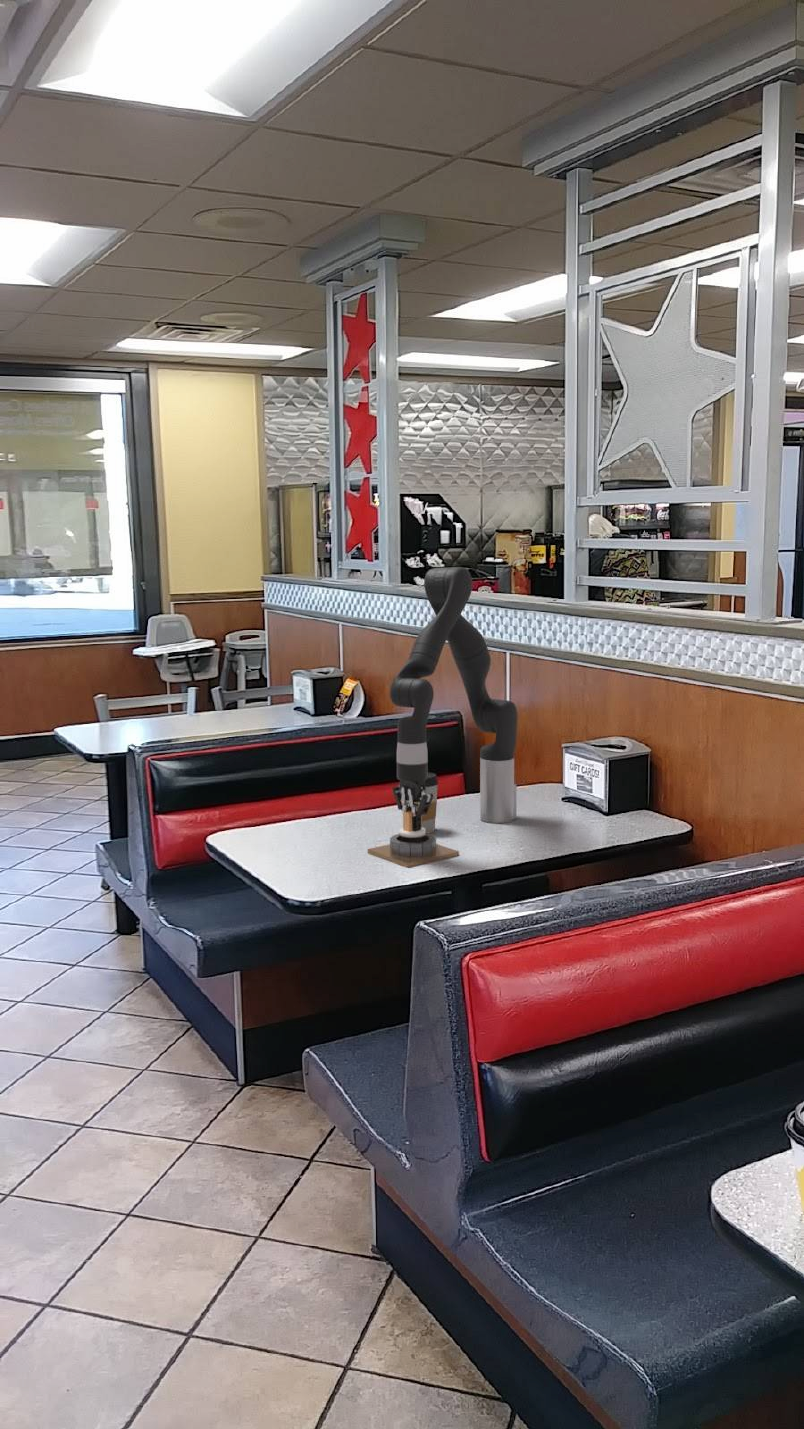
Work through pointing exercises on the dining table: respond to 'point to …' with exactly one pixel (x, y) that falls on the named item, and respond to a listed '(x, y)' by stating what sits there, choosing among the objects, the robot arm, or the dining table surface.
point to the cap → (410, 827)
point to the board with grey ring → (413, 850)
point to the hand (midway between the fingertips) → (412, 829)
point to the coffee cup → (429, 818)
